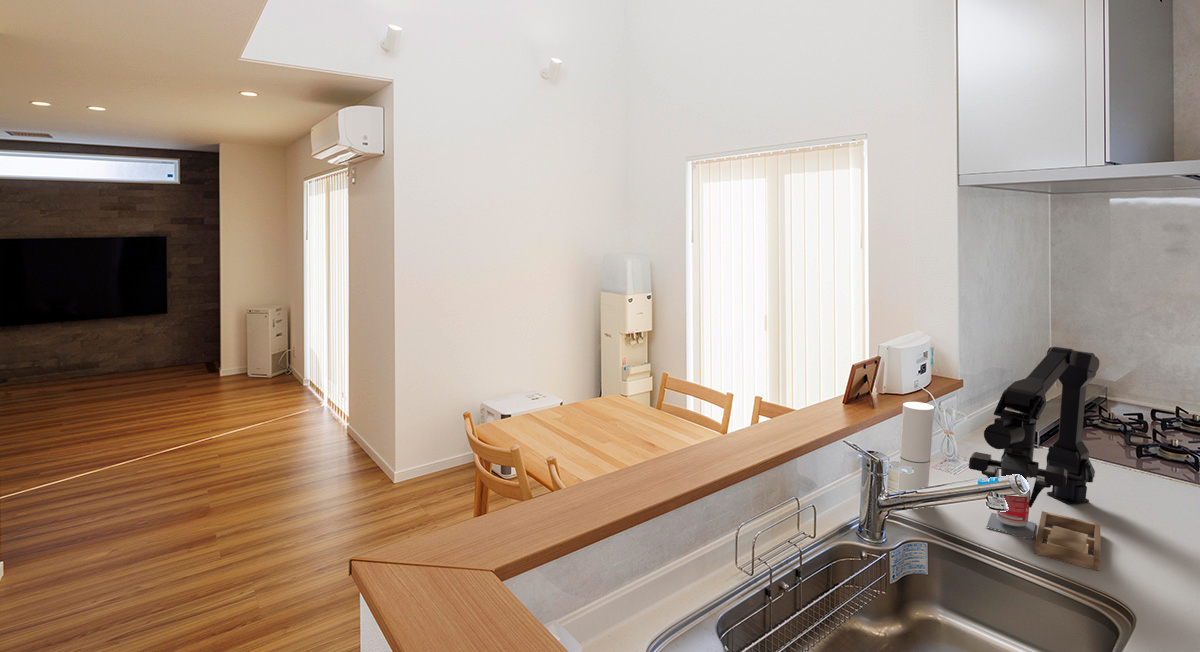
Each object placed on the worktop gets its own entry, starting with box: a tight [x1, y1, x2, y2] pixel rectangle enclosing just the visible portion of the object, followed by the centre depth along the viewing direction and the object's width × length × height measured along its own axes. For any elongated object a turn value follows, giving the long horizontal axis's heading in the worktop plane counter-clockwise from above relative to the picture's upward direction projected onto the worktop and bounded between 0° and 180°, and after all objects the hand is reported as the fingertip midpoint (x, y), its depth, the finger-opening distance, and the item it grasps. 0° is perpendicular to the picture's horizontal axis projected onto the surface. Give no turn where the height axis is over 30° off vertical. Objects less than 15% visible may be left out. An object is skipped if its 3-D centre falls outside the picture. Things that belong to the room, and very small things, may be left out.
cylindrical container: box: [897, 401, 935, 492], centre depth 160 cm, size 7×7×25 cm
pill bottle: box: [996, 478, 1031, 527], centre depth 144 cm, size 6×6×11 cm
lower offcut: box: [1046, 535, 1089, 555], centre depth 133 cm, size 7×5×2 cm
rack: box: [1033, 510, 1102, 572], centre depth 137 cm, size 11×19×2 cm, turn 141°
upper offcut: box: [1049, 525, 1089, 552], centre depth 133 cm, size 6×4×2 cm, turn 46°
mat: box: [985, 512, 1037, 540], centre depth 145 cm, size 9×9×1 cm
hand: (1013, 503), depth 144 cm, fingers closed on pill bottle, 6 cm apart
